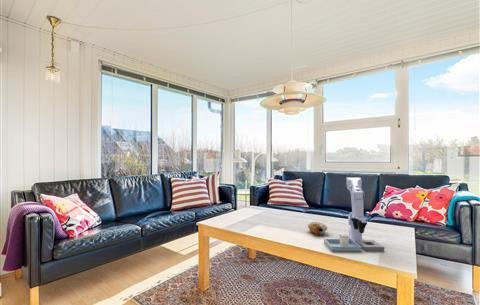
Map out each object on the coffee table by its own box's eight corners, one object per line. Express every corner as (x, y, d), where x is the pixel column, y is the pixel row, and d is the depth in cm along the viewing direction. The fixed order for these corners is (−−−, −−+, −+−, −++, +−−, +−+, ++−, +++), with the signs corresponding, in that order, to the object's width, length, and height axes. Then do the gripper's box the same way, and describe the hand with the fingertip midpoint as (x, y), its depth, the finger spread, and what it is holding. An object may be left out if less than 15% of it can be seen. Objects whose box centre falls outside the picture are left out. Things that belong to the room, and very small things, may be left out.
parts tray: (323, 243, 159) (323, 238, 159) (351, 243, 158) (351, 238, 158) (331, 251, 145) (331, 246, 145) (361, 251, 144) (361, 246, 144)
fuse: (339, 245, 153) (339, 234, 154) (345, 245, 153) (345, 234, 153) (342, 247, 149) (342, 236, 150) (348, 247, 149) (348, 236, 149)
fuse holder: (355, 243, 157) (355, 240, 157) (373, 244, 157) (373, 240, 157) (364, 251, 145) (364, 246, 145) (384, 251, 145) (384, 247, 145)
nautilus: (323, 240, 166) (302, 237, 174) (330, 230, 184) (310, 228, 192) (322, 229, 166) (301, 226, 174) (329, 220, 184) (309, 218, 192)
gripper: (347, 207, 161) (347, 227, 161) (357, 212, 147) (357, 234, 146) (358, 207, 161) (358, 227, 161) (368, 212, 146) (369, 234, 146)
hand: (358, 231), depth 153 cm, fingers open, 7 cm apart
